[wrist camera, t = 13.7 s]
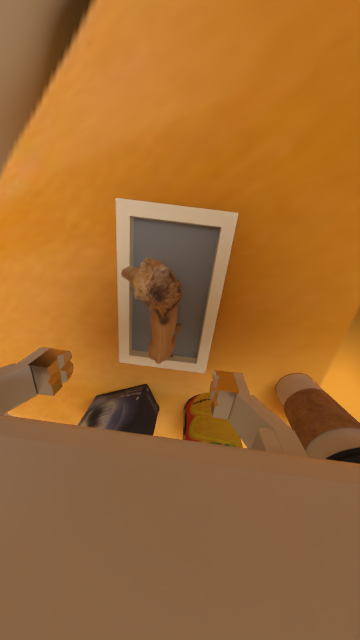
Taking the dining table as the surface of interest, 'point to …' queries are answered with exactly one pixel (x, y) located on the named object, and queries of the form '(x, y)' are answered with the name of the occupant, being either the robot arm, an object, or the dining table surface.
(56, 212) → the dining table surface
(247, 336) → the dining table surface
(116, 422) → the small box
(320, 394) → the coffee cup
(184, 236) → the picture frame
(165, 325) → the lion figurine
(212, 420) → the yellow food can
